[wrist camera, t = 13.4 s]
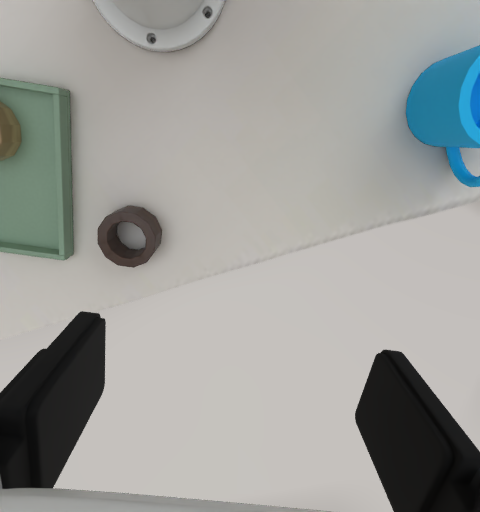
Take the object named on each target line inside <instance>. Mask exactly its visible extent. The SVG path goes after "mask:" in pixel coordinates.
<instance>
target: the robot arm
mask: <svg viewBox="0 0 480 512" xmlns="http://www.w3.org/2000/svg"><path fill="white" fill-rule="evenodd" d="M93 2H94V4H95V5H96V7H97V9H98V11H99V12H100V14H101V15H102V16H103V18H104V19H105V20H106V21H107V22H108V24H109V25H110V26H111V27H112V28H113V29H114V30H115V31H116V32H117V33H119V34H120V35H121V36H122V37H124V38H125V39H127V40H128V41H129V42H131V43H133V44H135V45H137V46H139V47H142V48H144V49H148V50H152V51H157V52H170V51H175V50H180V49H183V48H185V47H187V46H190V45H192V44H194V43H195V42H196V41H198V40H199V39H200V38H202V37H203V36H204V35H205V34H206V33H207V32H208V31H209V30H210V28H211V27H212V26H213V25H214V23H215V21H216V20H217V18H218V16H219V15H220V13H221V11H222V8H223V5H224V3H225V0H93ZM206 13H210V14H211V16H210V18H206V16H205V15H206ZM152 38H155V39H156V42H155V43H151V39H152ZM104 384H105V319H102V318H100V314H98V313H91V312H83V311H82V312H80V313H78V315H77V316H76V317H75V318H74V319H73V320H72V321H71V322H70V323H69V325H68V326H67V327H66V328H65V329H64V330H63V331H62V332H61V334H60V335H59V336H58V337H57V338H56V339H55V340H54V341H53V342H52V343H51V345H50V346H49V347H48V348H47V349H42V350H40V351H39V352H38V353H37V354H36V355H35V356H34V357H33V358H32V359H31V360H30V362H28V364H27V365H26V366H25V367H24V368H23V369H22V370H21V371H20V372H19V373H18V374H17V375H16V377H15V378H14V379H13V380H12V381H11V382H10V383H9V384H8V385H7V386H6V387H5V388H4V389H3V391H2V392H1V393H0V512H330V511H320V510H308V509H298V508H287V507H276V506H265V505H254V504H244V503H232V502H221V501H210V500H199V499H186V498H175V497H163V496H151V495H139V494H128V493H116V492H100V491H86V490H69V489H53V487H54V485H55V483H56V481H57V479H58V477H59V475H60V473H61V471H62V469H63V468H64V466H65V464H66V462H67V460H68V458H69V456H70V454H71V452H72V450H73V449H74V447H75V445H76V443H77V441H78V439H79V437H80V435H81V433H82V431H83V429H84V428H85V426H86V424H87V422H88V420H89V418H90V416H91V414H92V412H93V410H94V408H95V406H96V405H97V403H98V401H99V399H100V397H101V395H102V393H103V389H104ZM355 419H356V424H357V426H358V428H359V431H360V433H361V435H362V438H363V440H364V442H365V445H366V447H367V450H368V452H369V454H370V457H371V459H372V461H373V464H374V466H375V468H376V471H377V473H378V475H379V478H380V480H381V483H382V485H383V487H384V489H385V492H386V494H387V497H388V499H389V501H390V504H391V506H392V508H393V511H394V512H480V452H479V450H478V449H477V448H476V446H475V445H474V444H473V443H472V441H471V440H470V439H469V437H468V436H467V435H466V434H465V432H464V431H463V430H462V428H461V427H460V426H459V425H458V423H457V422H456V421H455V419H454V418H453V417H452V416H451V414H450V413H449V412H448V410H447V409H446V408H445V407H444V405H443V404H442V403H441V402H440V400H439V399H438V398H437V397H436V395H435V394H434V393H433V392H432V390H431V389H430V387H429V386H428V385H427V384H426V382H425V381H424V380H423V379H422V377H421V376H420V375H419V373H418V372H417V371H416V369H415V368H414V367H413V366H412V364H411V363H410V362H409V360H408V359H407V358H406V357H405V355H404V354H403V353H402V352H399V351H391V350H383V351H382V352H381V353H378V354H377V355H376V357H375V359H374V362H373V365H372V368H371V371H370V373H369V376H368V379H367V382H366V384H365V387H364V390H363V393H362V395H361V398H360V401H359V404H358V407H357V409H356V413H355Z"/></svg>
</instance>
